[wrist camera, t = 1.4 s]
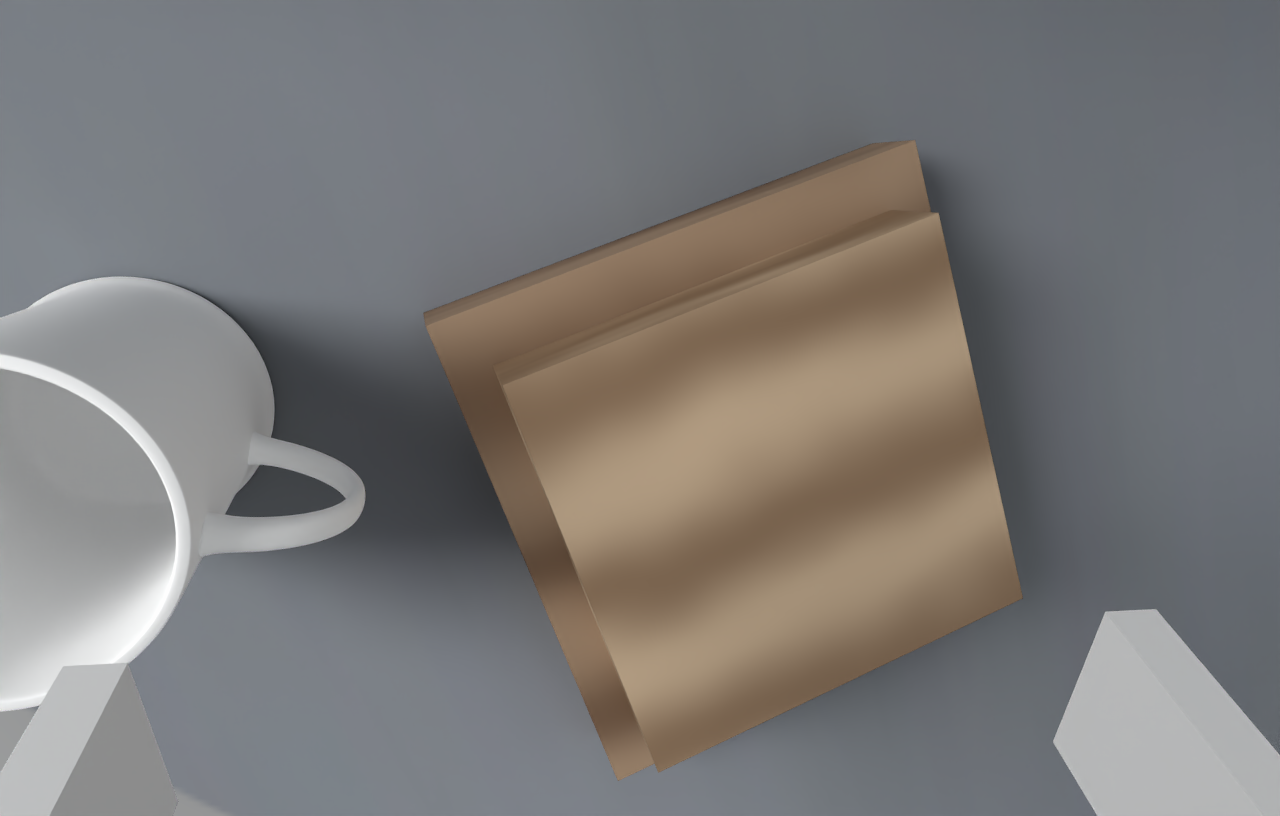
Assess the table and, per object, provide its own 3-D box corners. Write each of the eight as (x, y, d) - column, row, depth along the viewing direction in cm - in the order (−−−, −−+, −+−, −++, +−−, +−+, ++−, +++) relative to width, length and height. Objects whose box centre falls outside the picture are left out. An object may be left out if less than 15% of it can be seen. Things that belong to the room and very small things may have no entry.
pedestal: (423, 313, 31) (428, 342, 26) (872, 143, 34) (966, 136, 28) (601, 735, 37) (637, 834, 32) (971, 562, 40) (1065, 625, 34)
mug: (398, 343, 31) (396, 434, 20) (337, 564, 33) (304, 765, 22) (17, 241, 28) (-244, 283, 17) (-34, 495, 29) (-307, 694, 18)
